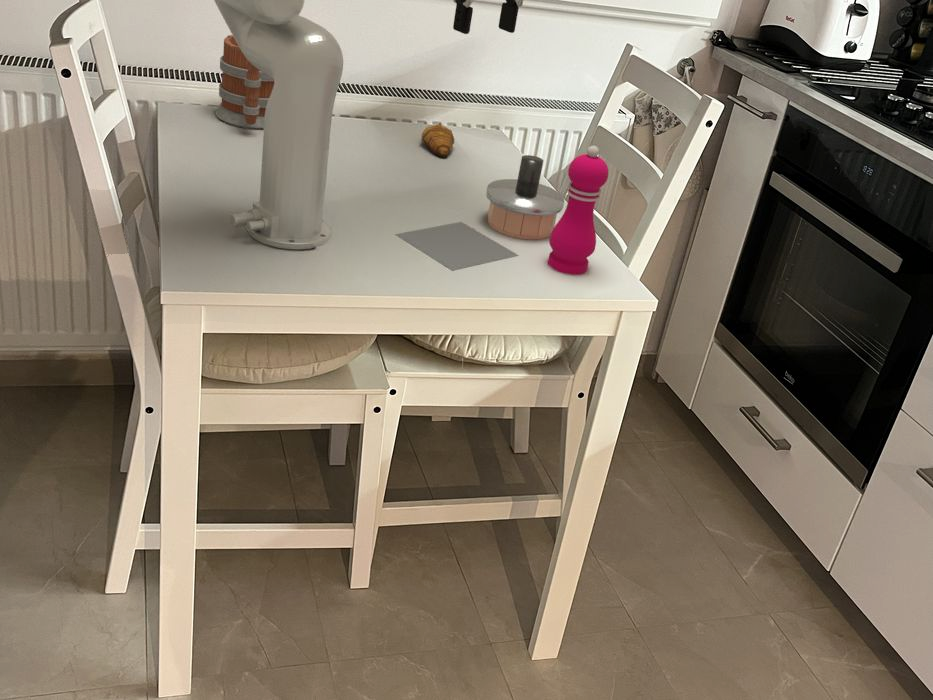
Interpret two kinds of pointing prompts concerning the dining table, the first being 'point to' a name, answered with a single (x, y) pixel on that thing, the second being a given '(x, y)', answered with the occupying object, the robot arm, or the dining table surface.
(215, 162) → the dining table surface
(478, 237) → the mat
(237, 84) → the mug
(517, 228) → the bowl
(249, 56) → the robot arm
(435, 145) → the croissant
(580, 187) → the pepper mill
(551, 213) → the lid
